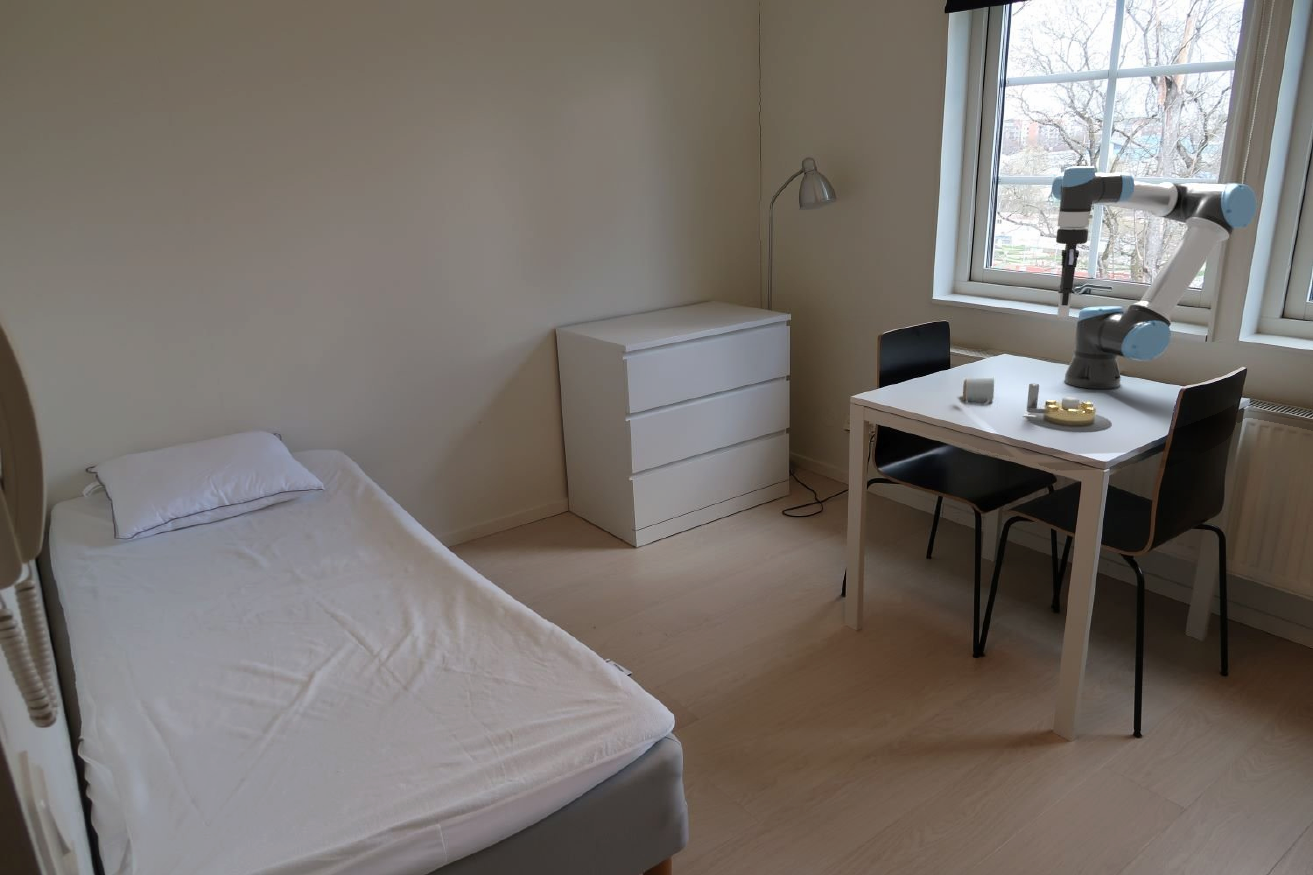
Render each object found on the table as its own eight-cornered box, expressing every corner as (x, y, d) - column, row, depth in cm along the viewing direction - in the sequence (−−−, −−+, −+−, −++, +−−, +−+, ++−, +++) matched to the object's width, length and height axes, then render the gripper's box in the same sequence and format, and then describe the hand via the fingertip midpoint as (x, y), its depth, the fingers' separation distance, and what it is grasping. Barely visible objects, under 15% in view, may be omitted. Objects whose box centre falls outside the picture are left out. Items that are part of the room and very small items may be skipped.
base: (1088, 413, 235) (1092, 388, 233) (1126, 436, 216) (1130, 409, 214) (1014, 415, 235) (1016, 390, 233) (1044, 438, 216) (1047, 411, 214)
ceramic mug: (962, 399, 252) (964, 373, 249) (993, 401, 249) (995, 375, 246) (960, 410, 242) (963, 383, 240) (992, 412, 239) (994, 385, 237)
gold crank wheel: (1090, 414, 229) (1094, 381, 226) (1097, 427, 218) (1102, 393, 215) (1023, 410, 233) (1027, 378, 231) (1027, 423, 223) (1031, 390, 220)
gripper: (1091, 230, 223) (1079, 321, 231) (1086, 225, 235) (1076, 313, 242) (1058, 230, 226) (1048, 320, 233) (1056, 225, 238) (1046, 312, 245)
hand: (1062, 316), depth 238 cm, fingers closed
